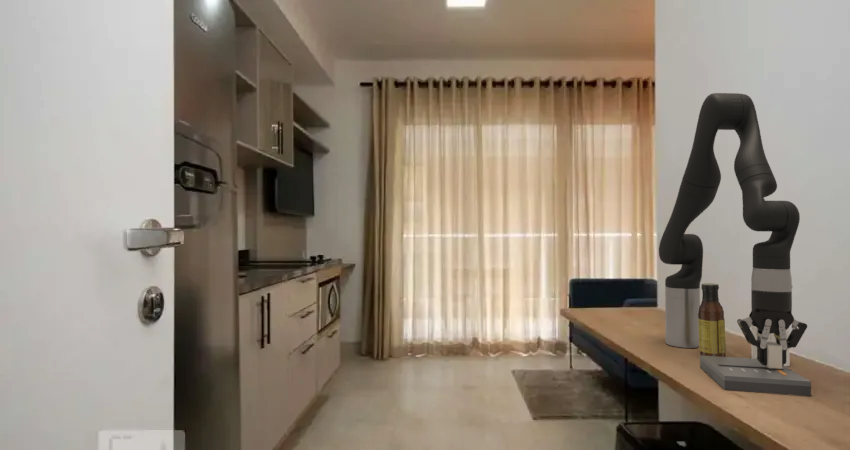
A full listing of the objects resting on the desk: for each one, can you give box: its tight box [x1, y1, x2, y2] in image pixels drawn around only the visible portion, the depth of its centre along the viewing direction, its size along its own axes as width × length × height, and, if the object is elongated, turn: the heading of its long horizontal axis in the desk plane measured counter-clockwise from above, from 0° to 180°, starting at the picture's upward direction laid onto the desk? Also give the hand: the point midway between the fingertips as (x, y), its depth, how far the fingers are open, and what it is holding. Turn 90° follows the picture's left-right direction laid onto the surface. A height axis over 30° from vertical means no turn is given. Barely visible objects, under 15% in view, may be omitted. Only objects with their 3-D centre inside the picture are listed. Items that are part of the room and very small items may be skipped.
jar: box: [750, 322, 791, 368], centre depth 129 cm, size 9×8×12 cm
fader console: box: [699, 354, 812, 397], centre depth 113 cm, size 18×16×3 cm
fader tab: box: [765, 342, 782, 370], centre depth 112 cm, size 4×3×6 cm, turn 166°
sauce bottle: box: [698, 282, 727, 357], centre depth 134 cm, size 6×6×20 cm
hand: (771, 364), depth 112 cm, fingers closed on fader tab, 2 cm apart
